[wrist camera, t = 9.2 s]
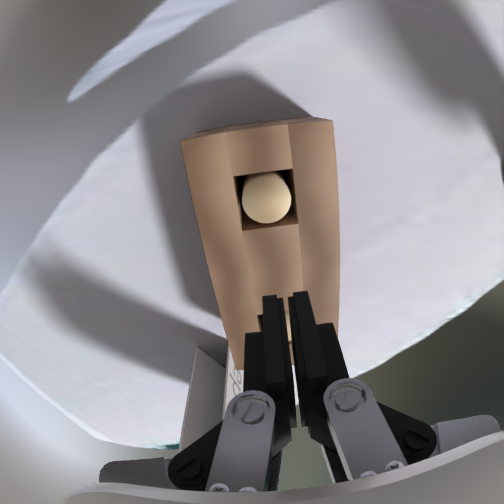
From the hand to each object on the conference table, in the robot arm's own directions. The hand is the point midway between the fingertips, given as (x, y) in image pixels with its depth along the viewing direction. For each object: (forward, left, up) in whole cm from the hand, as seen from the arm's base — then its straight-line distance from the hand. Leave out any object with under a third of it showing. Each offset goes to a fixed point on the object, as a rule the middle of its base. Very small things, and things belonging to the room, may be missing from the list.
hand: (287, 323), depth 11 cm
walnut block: (0, +7, -23) cm, 24 cm away
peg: (0, 0, -22) cm, 22 cm away
